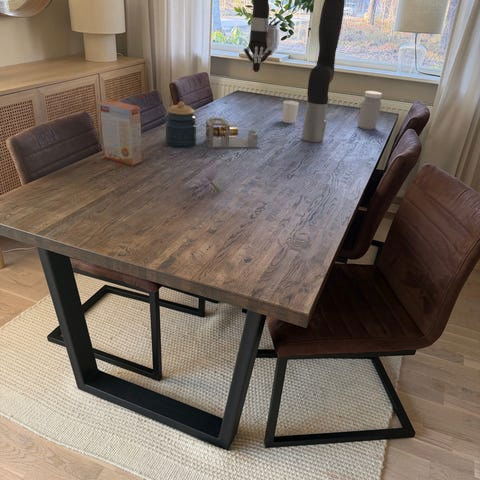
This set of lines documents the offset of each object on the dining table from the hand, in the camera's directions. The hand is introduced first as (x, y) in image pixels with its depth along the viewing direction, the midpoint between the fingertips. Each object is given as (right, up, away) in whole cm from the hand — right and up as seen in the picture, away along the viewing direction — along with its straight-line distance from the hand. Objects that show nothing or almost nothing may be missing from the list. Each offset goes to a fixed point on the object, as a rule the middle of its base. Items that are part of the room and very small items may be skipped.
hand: (255, 71), depth 199 cm
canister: (-32, -35, -11) cm, 49 cm away
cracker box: (-51, -46, -32) cm, 76 cm away
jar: (+60, -17, +34) cm, 71 cm away
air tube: (-15, -32, -9) cm, 36 cm away
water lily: (-19, -60, -51) cm, 81 cm away
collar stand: (-11, -34, -6) cm, 36 cm away
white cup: (+19, -14, +33) cm, 40 cm away
